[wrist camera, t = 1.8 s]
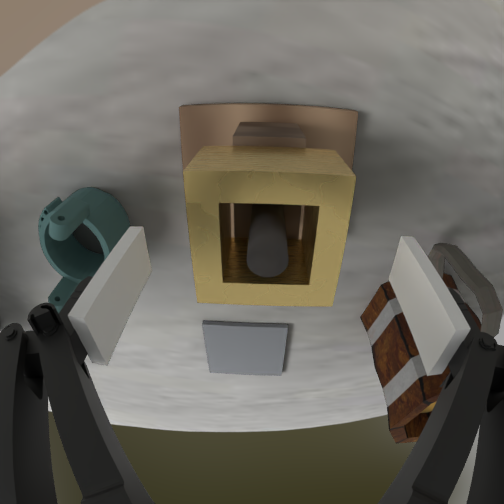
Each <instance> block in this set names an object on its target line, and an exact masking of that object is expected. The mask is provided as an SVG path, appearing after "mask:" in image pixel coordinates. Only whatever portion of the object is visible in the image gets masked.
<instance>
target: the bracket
mask: <svg viewBox="0 0 504 504" xmlns="http://www.w3.org/2000/svg"><path fill="white" fill-rule="evenodd" d="M81 223H83V224H85V225H86V226H87V227H88V228H89V229H90V230H91V231H92V232H93V233H94V234H95V236H96V237H97V238H98V240H99V242H100V244H101V246H102V249H103V252H104V254H98V253H94V252H92V251H90V250H88V249H86V248H85V247H84V246H82V245H81V244H80V243H79V242H78V241H77V240H76V238H75V237H74V236H73V234H72V232H73V231H74V230H75V229H76V228H77V227H78V226H79V225H80V224H81ZM129 227H130V222H129V219H128V216H127V214H126V212H125V210H124V208H123V207H122V205H121V204H120V203H119V202H118V201H117V199H115V198H114V197H113V196H112V195H111V194H108V193H106V192H104V191H101V190H99V189H97V188H92V187H87V188H82V189H79V190H77V191H76V192H74V193H73V194H72V195H70V196H69V197H68V198H67V199H66V200H64V201H63V202H62V201H61V199H60V197H57V198H56V199H55V200H54V201H52V202H51V203H50V204H49V205H48V206H46V207H45V208H44V210H43V211H42V213H41V215H40V219H39V225H38V229H39V237H40V243H41V247H42V250H43V253H44V255H45V257H46V258H47V260H48V262H49V263H50V264H51V266H52V267H53V268H54V269H55V270H56V271H57V272H58V273H59V274H60V275H62V276H63V278H62V279H61V281H60V282H59V283H58V285H57V286H56V287H55V289H54V290H53V291H52V293H51V294H50V296H49V297H48V302H49V303H51V304H53V305H54V306H55V308H56V310H57V312H58V314H59V312H60V311H61V309H62V308H63V306H64V305H65V303H66V302H67V300H68V299H69V298H70V296H71V294H72V293H73V292H74V290H75V289H76V287H77V286H78V284H79V283H80V282H81V281H82V280H84V279H85V278H86V277H88V276H91V277H93V276H94V275H95V274H96V272H97V271H98V269H99V268H100V266H101V265H102V264H103V262H104V261H105V259H106V258H107V257H108V255H109V254H110V253H111V251H112V250H113V248H114V247H115V246H116V244H117V243H118V242H119V240H120V239H121V238H122V236H123V235H124V234H125V232H126V231H127V230H128V229H129Z"/></svg>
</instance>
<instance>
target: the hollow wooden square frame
mask: <svg viewBox="0 0 504 504" xmlns="http://www.w3.org/2000/svg"><path fill="white" fill-rule="evenodd" d="M183 177H184V189H185V200H186V211H187V221H188V230H189V239H190V248H191V257H192V265H193V273H194V281H195V288H196V295H197V303H215V304H238V305H267V306H332V305H333V301H334V296H335V292H336V287H337V283H338V278H339V273H340V268H341V263H342V258H343V253H344V248H345V243H346V237H347V232H348V226H349V220H350V214H351V208H352V202H353V195H354V189H355V182H356V176H355V174H354V173H353V172H352V171H351V169H350V168H349V167H348V166H347V164H346V163H345V162H344V161H343V159H342V158H341V157H340V156H339V155H338V153H337V152H336V151H335V150H327V149H313V148H297V147H273V146H203V147H202V148H201V150H200V151H199V152H198V153H197V154H196V156H195V157H194V158H193V159H192V161H191V162H190V163H189V164H188V166H187V167H186V168H185V169H184V171H183ZM231 203H256V204H288V205H305V206H304V217H303V227H302V237H301V239H287V248H288V258H289V262H288V266H287V268H286V269H285V270H284V271H283V272H282V273H281V274H279V275H277V276H274V277H261V276H258V275H256V274H254V273H253V272H252V271H251V270H250V269H249V267H248V265H247V250H248V240H249V238H241V237H232V236H231Z"/></svg>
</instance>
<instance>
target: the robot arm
mask: <svg viewBox="0 0 504 504" xmlns="http://www.w3.org/2000/svg"><path fill="white" fill-rule="evenodd" d="M151 272H152V268H151V263H150V259H149V254H148V249H147V244H146V238H145V233H144V228H143V227H134V226H130V227H129V229H128V230H127V231H126V232H125V234H124V235H123V236H122V238H121V239H120V240H119V242H118V243H117V244H116V246H115V247H114V248H113V250H112V251H111V253H110V254H109V255H108V257H107V258H106V259H105V261H104V262H103V264H102V265H101V266H100V268H99V269H98V271H97V272H96V274H95V275H94V276H93V277H91V276H88V277H86V278H85V279H84V280H82V281H81V282H80V283H79V284H78V286H77V287H76V289H75V290H74V292H73V293H72V294H71V296H70V298H69V299H68V300H67V302H66V303H65V305H64V306H63V308H62V309H61V311H60V312H59V314H58V312H57V310H56V308H55V306H54V305H53V304H51V303H43V304H40V305H38V306H36V307H35V308H33V309H32V310H31V312H30V313H29V315H28V322H29V323H30V325H31V327H32V329H33V330H34V331H26V332H25V331H24V330H23V328H22V326H21V325H20V324H18V323H12V324H10V325H8V326H6V327H5V328H4V329H3V330H2V331H1V333H0V504H57V498H56V493H55V486H54V479H53V472H52V464H51V453H50V441H49V423H48V397H49V401H50V405H51V408H52V412H53V416H54V419H55V422H56V426H57V429H58V432H59V435H60V438H61V441H62V444H63V447H64V450H65V452H66V455H67V458H68V461H69V463H70V466H71V468H72V471H73V473H74V476H75V478H76V481H77V483H78V485H79V487H80V490H81V492H82V495H83V499H82V501H81V504H155V503H154V502H153V501H152V499H151V498H150V496H149V495H148V493H147V491H146V490H145V488H144V486H143V485H142V483H141V481H140V480H139V478H138V476H137V474H136V473H135V471H134V469H133V467H132V466H131V464H130V462H129V460H128V458H127V456H126V454H125V453H124V451H123V449H122V447H121V445H120V443H119V441H118V439H117V437H116V435H115V433H114V431H113V428H112V426H111V424H110V422H109V420H108V418H107V415H106V413H105V411H104V408H103V406H102V404H101V401H100V399H99V397H98V394H97V392H96V389H95V387H94V384H93V381H92V379H91V376H90V373H89V371H88V368H87V365H86V364H85V362H84V360H85V358H86V356H87V354H88V356H89V358H90V360H91V361H92V363H96V364H101V365H106V366H108V363H109V361H110V359H111V356H112V354H113V352H114V349H115V347H116V345H117V343H118V340H119V338H120V336H121V334H122V332H123V329H124V327H125V325H126V323H127V321H128V319H129V316H130V314H131V312H132V310H133V308H134V306H135V304H136V302H137V300H138V298H139V296H140V294H141V291H142V289H143V287H144V285H145V283H146V281H147V279H148V277H149V275H150V273H151ZM389 281H390V283H391V285H392V288H393V290H394V292H395V294H396V297H397V299H398V301H399V304H400V306H401V308H402V311H403V313H404V316H405V318H406V320H407V323H408V325H409V328H410V330H411V333H412V335H413V338H414V341H415V343H416V346H417V348H418V351H419V354H420V357H421V359H422V362H423V365H424V368H425V370H426V373H427V376H430V375H437V374H442V373H443V371H444V370H445V368H446V367H447V365H448V366H449V369H450V371H451V372H450V373H449V375H448V376H447V377H446V379H445V380H444V381H443V383H442V384H441V385H440V387H441V388H442V386H443V388H442V390H441V392H440V395H439V397H438V399H437V402H436V404H435V406H434V408H433V410H432V412H431V415H430V417H429V419H428V421H427V423H426V425H425V427H424V429H423V431H422V433H421V435H420V436H419V438H418V440H417V442H416V444H415V446H414V447H413V449H412V451H411V453H410V455H409V457H408V458H407V460H406V461H405V463H404V465H403V466H402V468H401V470H400V471H399V473H398V475H397V476H396V478H395V479H394V481H393V482H392V484H391V485H390V487H389V488H388V490H387V491H386V493H385V494H384V496H383V497H382V499H381V500H380V501H379V503H378V504H448V500H449V498H450V496H451V494H452V492H453V490H454V488H455V485H456V483H457V481H458V479H459V477H460V474H461V472H462V470H463V468H464V465H465V463H466V461H467V458H468V456H469V453H470V451H471V448H472V445H473V442H474V440H475V437H476V434H477V431H478V428H479V425H480V429H479V438H478V447H477V453H476V460H475V466H474V472H473V477H472V482H471V487H470V491H469V496H468V500H467V504H504V346H502V345H498V344H497V342H496V340H495V339H494V338H493V337H492V336H491V335H490V334H488V333H485V332H481V331H480V329H479V327H478V326H477V324H476V322H475V320H474V319H473V317H472V315H471V313H470V312H469V311H468V308H467V306H466V305H464V301H463V300H462V298H461V297H460V295H459V294H458V293H457V292H456V291H455V290H454V289H452V288H447V287H446V285H445V283H444V282H443V280H442V279H441V277H440V275H439V274H438V272H437V271H436V269H435V268H434V266H433V265H432V263H431V261H430V260H429V258H428V257H427V255H426V254H425V253H424V251H423V250H422V248H421V247H420V245H419V244H418V242H417V241H416V239H415V238H414V237H412V236H401V238H400V241H399V245H398V248H397V252H396V256H395V259H394V262H393V266H392V269H391V272H390V275H389Z"/></svg>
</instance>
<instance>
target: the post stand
mask: <svg viewBox="0 0 504 504" xmlns="http://www.w3.org/2000/svg"><path fill="white" fill-rule="evenodd" d="M179 114H180V132H181V148H182V162H183V171H184V169H185V168H186V167H187V166H188V164H189V163H190V162H191V161H192V159H193V158H194V157H195V156H196V154H197V153H198V152H199V151H200V150H201V148H202V147H203V146H273V147H297V148H313V149H327V150H335V151H336V152H337V153H338V155H339V156H340V157H341V158H342V159H343V161H344V162H345V163H346V164H347V166H348V167H349V168H350V169H351V171H352V166H353V157H354V149H355V139H356V129H357V119H358V112H357V111H355V110H348V109H339V108H330V107H319V106H306V105H289V104H261V103H224V104H197V105H183V106H180V107H179ZM304 206H305V205H288V204H256V203H231V236H232V237H241V238H249V240H248V250H247V265H248V267H249V269H250V270H251V271H252V272H253V273H254V274H256V275H258V276H261V277H274V276H277V275H279V274H281V273H282V272H283V271H284V270H285V269H286V268H287V266H288V262H289V258H288V248H287V239H301V237H302V227H303V217H304Z"/></svg>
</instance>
